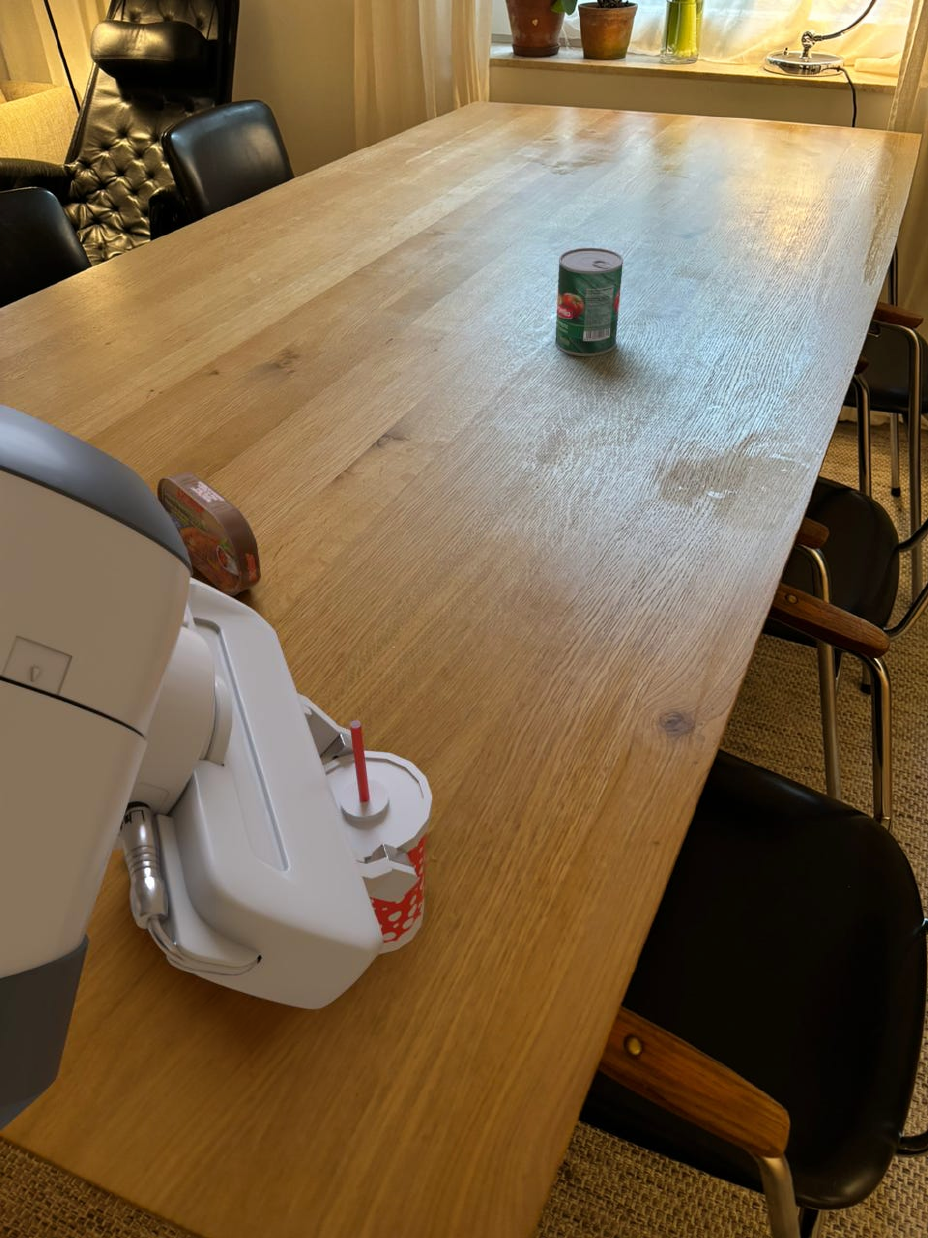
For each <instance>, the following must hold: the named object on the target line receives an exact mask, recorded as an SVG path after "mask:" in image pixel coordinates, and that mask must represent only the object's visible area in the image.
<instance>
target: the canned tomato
mask: <svg viewBox="0 0 928 1238" xmlns="http://www.w3.org/2000/svg"><path fill="white" fill-rule="evenodd" d="M623 265H624V258H623V256H622V255H621V254H620V253H618V252H616V251H613V250H611V249H607V248H600V247H579V248H574V249H570V250H567V251H565V252H563V253H562V254H561V255H560V256H559V257H558V276H557V277H558V278H557V298H556V301H557V302H556V316H555V319H556V320H555V322H556V323H555V338H554V344H555V346H556V348H557V349H558V350H559V351H561V352H563V353H565V354H567V355H572V356H576V357H597V356H602V355H606V354H609V353H610V352H611V351H613V350H614V349H615V348H616V345H617V332H618V322H619V321H618V320H619V309H620V302H621V301H620V299H621V298H620V297H621V289H622V286H621V285H622V276H623Z"/></svg>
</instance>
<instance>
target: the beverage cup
mask: <svg viewBox="0 0 928 1238" xmlns="http://www.w3.org/2000/svg"><path fill="white" fill-rule="evenodd" d="M349 730H350V731H351V739H352V746H353V753H352V754H349V755H346V756H342V757H338V758H336V759H334V760H332V761H331V762H329V763H327V764H325V765H323V768H324V770H325V773H326V776H327V779H328V782H329V785H330V787H331V790H332V793H333V796H334V799H335V802H336V804H337V807H338V810H339V813H340V816H341V819H342V821H343V824H344V827H345V830H346V833H347V836H348V838H349V841H350V844H351V847H352V850H355V851H358V852H361V853H362V854H363V857H364V860H367V859H371V856H372V854H373V852H374V851H375V850H376V849H377V848H378V847H379V846H380V845H381V844H382V843H384V844H387V845H390V846H393V847H395V848H396V849H397V850H399V849H403V850H406V852H407V854H408V857H409V859H410V861H411V864H412V866H413V869H414V870H415V872H416V875H417V877H418V881H417V883H416V884H415V885H414V886H413V887H412V888H411V889H410V890H409V891H408V892H407V893H406V894H405V895H404V896H403V897H402V898H401V899H399V900H397V901H394V902H388V901H384V900H380V899H376V898H372V897H369V898H370V901H371V904H372V906H373V909H374V912H375V915H376V918H377V920H378V923H379V926H380V928H381V932H382V935H383V947H382V949H381V951H380V952H379V954H378V955H381V954H385V953H390V952H393V951H397V950H400V948H403V946H404V945H406V944H408V943H409V942H410V941H412V940H413V939H414V937H416V934H417V933H418V931H419V930H420V929H421V927H422V924H423V918H424V913H425V894H426V893H425V891H426V889H425V888H426V863H427V862H426V859H427V832H428V830H429V828H430V823H431V817H432V813H433V801H434V799H433V793H432V790H431V787H430V785H429V781H428V779H427V777H426V775H425V774H424V773H423V772H422V771H420V769H419V768H418V767H417V766H416V765H415V764H414V763H413V762H412V761H411V760H407V759H405V758H403V757H401V756H398V755H396V754H394V753H392V752H385V751H374V750H373V751H372V750H366V751H364V746H365V744H364V738H363V730H362V723H361V721H359V720H352V721H350V723H349ZM363 744H364V745H363Z"/></svg>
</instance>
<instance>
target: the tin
mask: <svg viewBox="0 0 928 1238" xmlns="http://www.w3.org/2000/svg"><path fill="white" fill-rule="evenodd" d="M156 490H157V491H156V494H157V499H158V500H159V501H160V503H161V504H162V506H163V507H164V508H165V510H166V512H167V513H168V515H169V516H170V518H171V519H172V521H173V523H174V525H175V526H176V528H177V530H178V532H179V534H180V536H181V538H182V541H183V543H184V545H185V548H186V550H187V553H188V556H189V558H190V562H191V565H192V567H194V568H195V569H196V570H197V571H199V572H200V573H201V574H202V575H203V576H204V578H206V579H207V580H208V581H209V582H211V584H213V585H214V586H215V588H217V590H218V591H220V592H222V593H224V594H226V595H228V596H230V597H234V596H236V595H237V594H239V593H241V592H243V591H246V590H248V589H251V588H253V587H255V586H256V585H257V584H258V583H259V582H260V580H261V577H262V573H261V561H260V556H259V546H258V543H257V542H258V541H257V539H256V537H255V534H254V532H253V530H252V528H251V525H250V523H249V522H248V520H247V519H246V517H245V516H244V514H243V513H242V511H240V510H239V509H238V507H237V506H235V505H234V504H233V503H232V502H231V501H229V500H228V499H227V498H225V497H224V496H223V495H222V494H221V493H219V491H217V490H216V489H214V488H213V487H212V486H211V485H209V484H208V483H207V482H206V481H205V480H203V479H202V478H200V476H198V475H197V474H195V473H193V472H190V471H185V472H180V473H177V474H173V475H171V476H166V477H165V476H164V477H162V478H160V480H159V481H158V483H157V489H156Z"/></svg>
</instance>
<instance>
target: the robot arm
mask: <svg viewBox="0 0 928 1238" xmlns="http://www.w3.org/2000/svg"><path fill="white" fill-rule="evenodd" d="M193 575H194V569H193V565H192V564H191V562H190V558H189V556H188V553H187V550H186V548H185V545H184V543H183V541H182V538H181V536H180V534H179V532H178V530H177V528H176V526H175V525H174V523H173V521H172V519H171V518H170V516H169V515H168V513H167V512H166V510H165V508H164V507H163V506H162V504H161V503H160V501H159V500H158V496H156V494H155V493H154V491H153V490H152V488H150V486H149V485H148V484H147V482H146V481H145V480H144V479H143V477H142V476H141V475H140V474H139V473H138V472H136V471H135V470H134V469H133V468H131V467H130V466H128V465H126V464H125V463H124V462H122V461H120V460H119V459H117V458H115V457H114V456H112V455H110V454H108V453H107V452H105V451H103V450H101V449H100V448H97V447H96V446H93V445H92V444H90V443H89V442H86V441H84V440H83V439H80V438H78V437H77V436H74V435H72V434H71V433H69V432H67V431H64V430H63V429H61V428H59V427H56V426H54V425H52V424H50V423H48V422H45V421H43V420H41V419H39V418H37V417H35V416H32V415H30V414H28V413H26V412H22V411H20V410H18V409H15V408H13V407H11V406H7V405H4V404H1V403H0V1132H1V1131H2V1130H3V1129H5V1128H6V1127H7V1126H8V1125H9V1124H10V1123H11V1122H12V1121H14V1120H15V1119H16V1118H17V1117H18V1116H20V1115H21V1114H22V1113H23V1112H24V1111H26V1109H27V1108H29V1107H30V1106H31V1105H32V1104H33V1103H35V1101H37V1099H38V1098H40V1096H42V1095H43V1094H44V1093H45V1092H46V1091H47V1090H49V1088H50V1087H51V1086H52V1085H53V1084H54V1083H55V1081H56V1080H57V1078H58V1076H59V1071H60V1067H61V1064H62V1063H61V1062H62V1060H63V1054H64V1049H65V1045H66V1042H67V1038H68V1033H69V1028H70V1024H71V1020H72V1016H73V1012H74V1007H75V1003H76V999H77V994H78V990H79V986H80V982H81V977H82V973H83V969H84V965H85V961H86V956H87V952H88V949H89V943H90V938H89V935H88V934H87V929H88V927H89V924H90V921H91V918H92V914H93V912H94V908H95V906H96V902H97V899H98V896H99V893H100V890H101V887H102V885H103V882H104V877H105V875H106V872H107V868H108V865H109V863H110V859H111V856H112V853H113V852H115V851H121V850H122V852H123V857H124V861H125V865H126V867H127V870H128V873H129V880H130V888H129V903H130V909H131V913H132V917H133V919H134V921H135V923H136V925H137V926H138V927H139V928H140V929H143V930H148V932H149V934H150V937H151V938H152V940H153V941H154V942H155V943H156V946H158V948H159V949H160V950H161V951H162V952H163V953H164V954H165V955H166V960H167V962H169V964H170V965H171V966H173V967H175V968H176V969H178V970H181V971H183V972H186V973H191V974H194V975H196V976H198V977H200V978H201V979H204V980H207V981H209V982H212V983H215V984H217V985H220V986H222V987H225V988H228V989H231V990H234V991H237V992H241V993H244V994H247V995H250V996H254V997H257V998H260V999H264V1000H267V1001H270V1002H274V1003H278V1004H281V1005H285V1006H286V1005H287V1006H290V1007H295V1008H300V1009H306V1010H319V1009H322V1008H324V1007H327V1006H328V1005H330V1004H332V1003H333V1002H334V1001H336V999H338V998H340V996H342V995H343V994H344V993H346V991H347V990H349V988H350V987H352V985H354V984H355V983H356V981H358V980H359V978H360V977H361V976H362V975H363V974H364V973H365V972H366V970H367V969H368V968H369V967H370V966H371V964H372V963H373V962H374V961H375V959H376V958H377V957H378V955H380V954H379V952H380V951H381V949H382V947H383V935H382V932H381V928H380V926H379V923H378V920H377V918H376V915H375V912H374V909H373V906H372V904H371V901H370V898H369V897H372V898H376V899H380V900H384V901H388V902H394V901H397V900H399V899H401V898H402V897H403V896H404V895H405V894H406V893H407V892H408V891H409V890H410V889H411V888H412V887H413V886H414V885H415V884H416V883H417V881H418V877H417V875H416V872H415V870H414V869H413V866H412V864H411V861H410V859H409V857H408V854H407V852H406V850H403V849H399V850H397V849H396V848H395V847H393V846H390V845H387V844H384V843H382V844H381V845H380V846H379V847H378V848H377V849H376V850H375V851H374V852H373V854H372V856H371V859H367V860H364V857H363V854H362V853H361V852H358V851H355V850H352V847H351V844H350V841H349V838H348V836H347V833H346V830H345V827H344V824H343V821H342V819H341V816H340V813H339V810H338V807H337V804H336V802H335V799H334V796H333V793H332V790H331V787H330V785H329V782H328V779H327V776H326V773H325V770H324V768H323V765H325V764H327V763H329V762H331V761H332V760H334V759H336V758H338V757H342V756H346V755H349V754H352V753H353V746H352V739H351V731H350V729H347V728H345V727H342V726H340V725H338V723H336V722H335V720H333V718H331V717H330V716H329V715H327V713H325V712H324V711H323V710H322V709H321V708H320V707H318V706H317V705H316V704H315V703H314V702H313V701H312V700H310V699H309V697H307V696H306V695H303V694H301V693H298V691H297V689H296V685H295V682H294V680H293V677H292V674H291V671H290V669H289V666H288V663H287V660H286V658H285V657H286V656H285V655H284V652H283V649H282V645H281V643H280V640H279V637H278V634H277V631H276V630H275V629H274V628H273V626H272V625H271V624H269V623H268V621H267V620H266V619H264V618H263V617H262V615H260V614H259V613H258V612H257V611H256V610H255V609H253V608H252V607H250V606H248V605H246V604H245V603H243V602H241V601H239V600H237V599H236V598H234V597H233V596H229V595H226V594H224V593H223V592H222V591H220V590H219V589H216V588H214V587H212V586H211V585H208V584H206V583H204V582H202V581H200V580H197V579H196V578H193ZM363 745H364V751H367V749H366V746H365V744H364V743H363Z"/></svg>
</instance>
